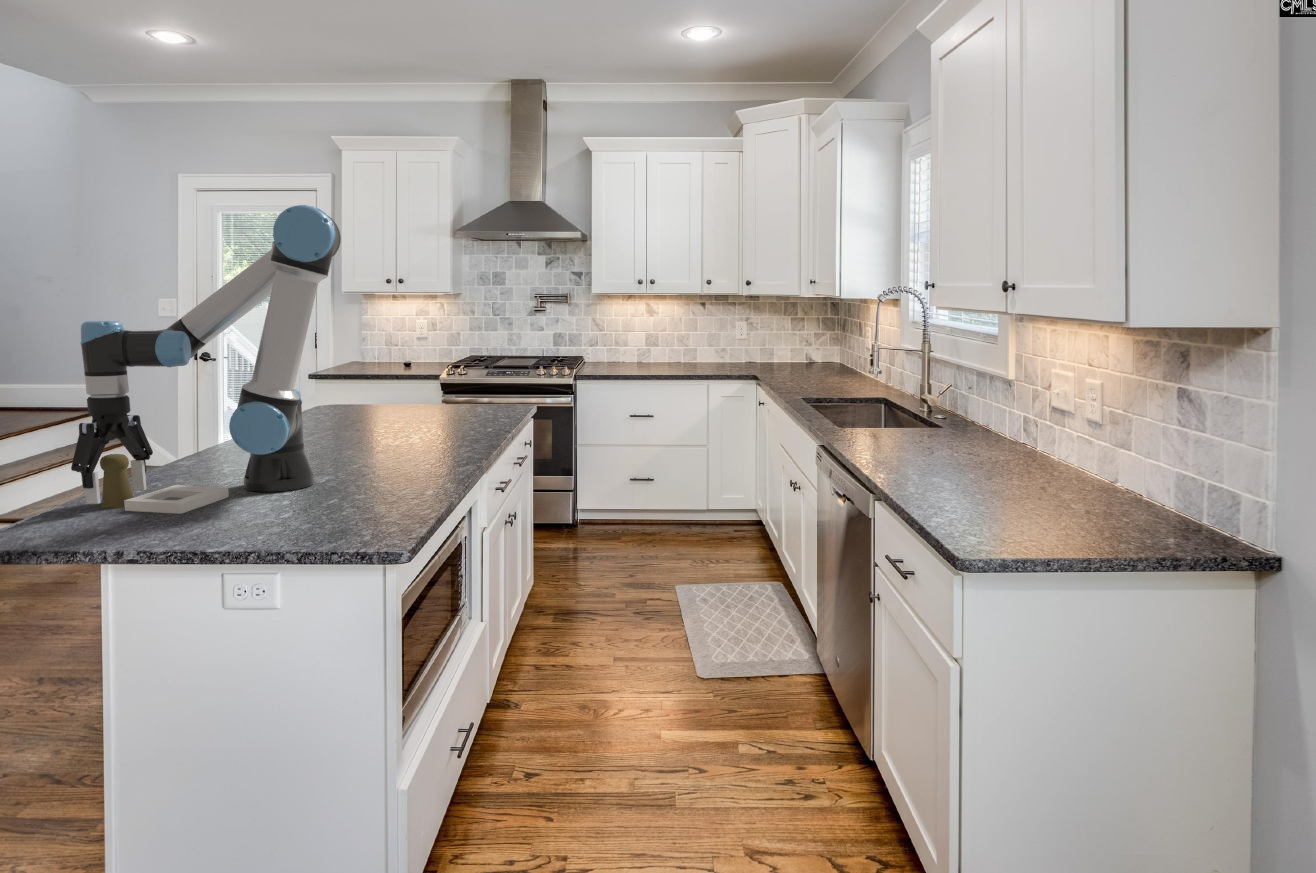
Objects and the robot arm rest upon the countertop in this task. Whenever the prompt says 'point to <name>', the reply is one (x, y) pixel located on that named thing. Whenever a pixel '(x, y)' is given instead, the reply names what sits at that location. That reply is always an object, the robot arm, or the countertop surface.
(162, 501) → the socket plate
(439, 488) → the countertop surface
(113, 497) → the cork
